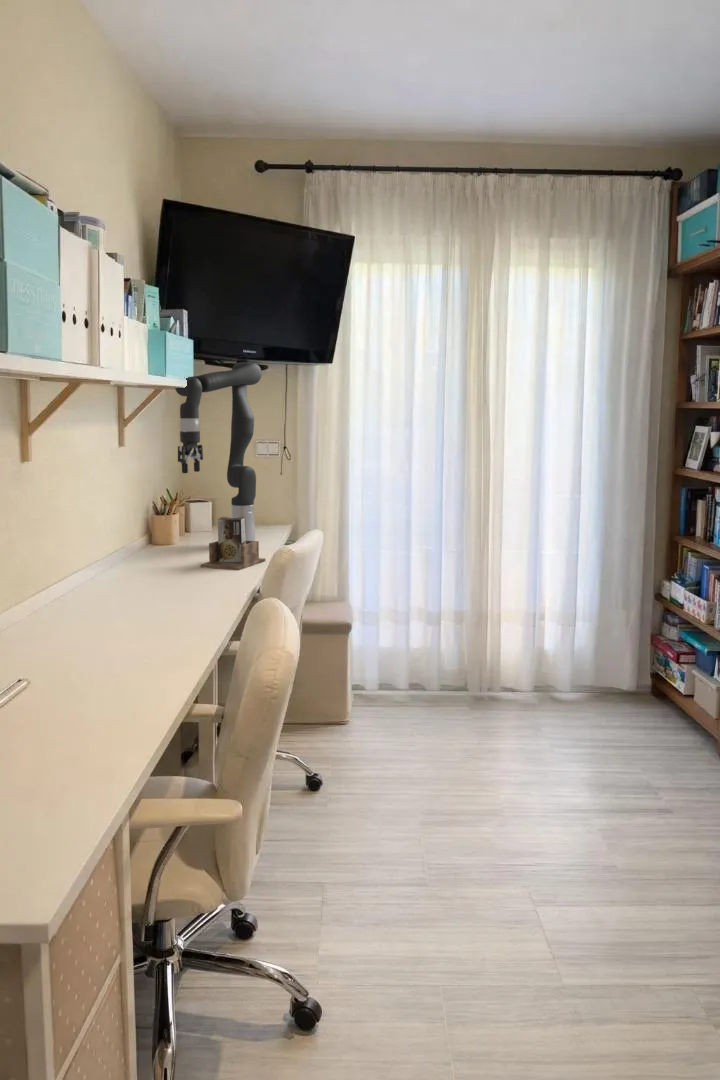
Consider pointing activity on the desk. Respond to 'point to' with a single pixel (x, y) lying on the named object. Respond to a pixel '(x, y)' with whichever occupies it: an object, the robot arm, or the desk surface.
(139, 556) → the desk surface
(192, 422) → the robot arm
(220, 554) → the coffee box
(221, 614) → the desk surface
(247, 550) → the holder
